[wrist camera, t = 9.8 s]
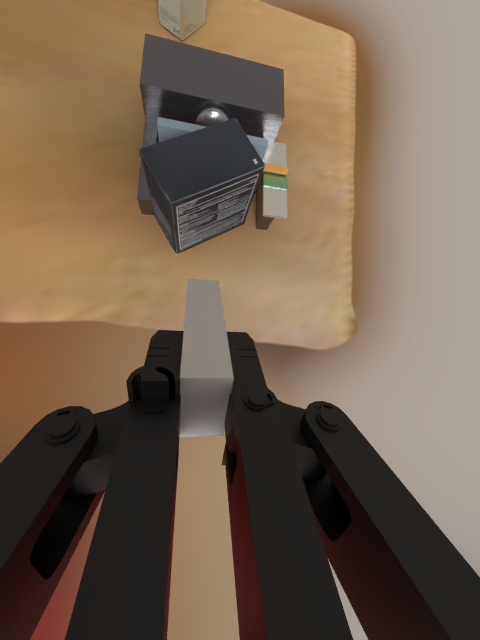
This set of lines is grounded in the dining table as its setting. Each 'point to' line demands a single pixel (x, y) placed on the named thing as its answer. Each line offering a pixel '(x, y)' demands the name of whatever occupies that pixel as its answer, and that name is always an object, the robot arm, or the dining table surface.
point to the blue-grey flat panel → (178, 128)
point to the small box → (202, 182)
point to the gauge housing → (215, 107)
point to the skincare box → (182, 16)
